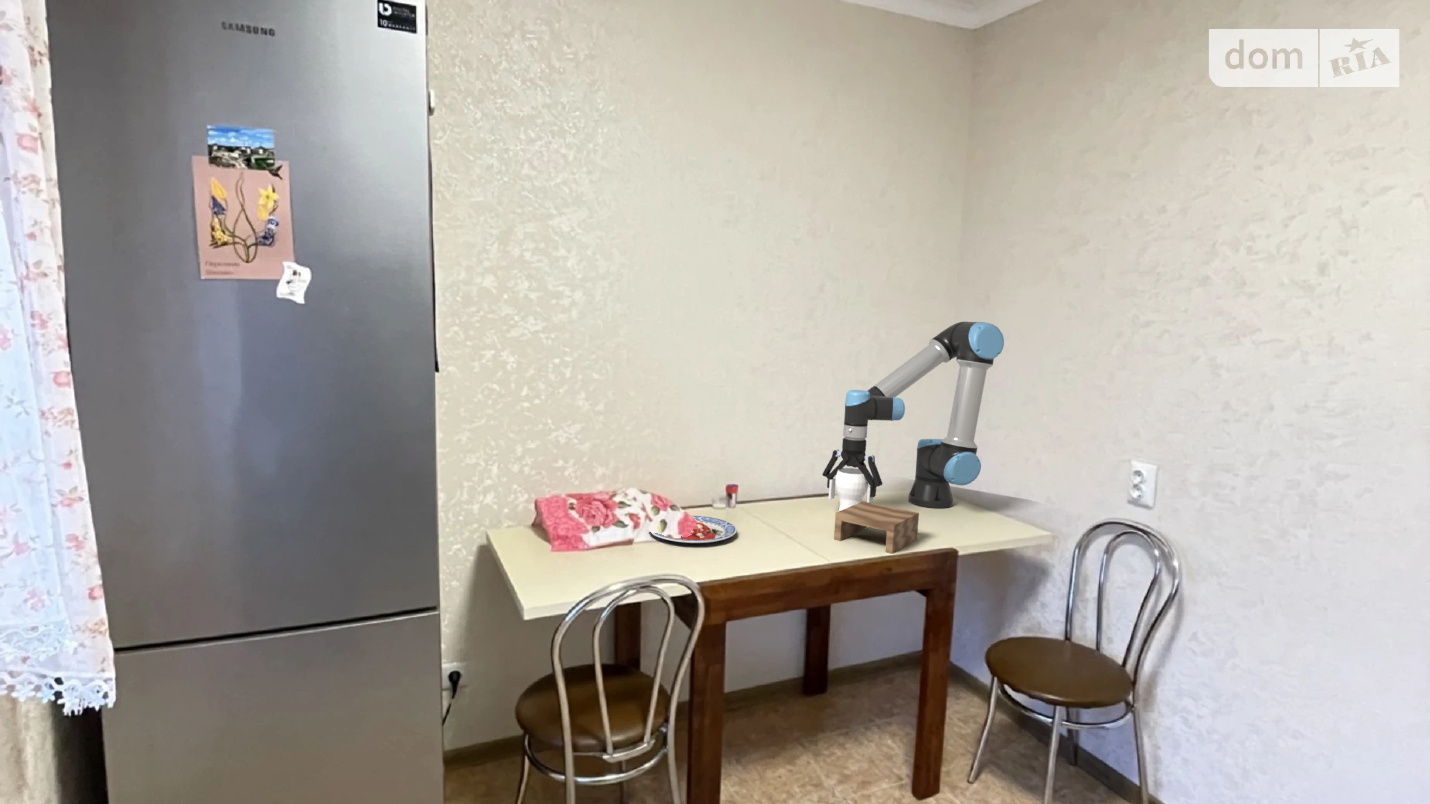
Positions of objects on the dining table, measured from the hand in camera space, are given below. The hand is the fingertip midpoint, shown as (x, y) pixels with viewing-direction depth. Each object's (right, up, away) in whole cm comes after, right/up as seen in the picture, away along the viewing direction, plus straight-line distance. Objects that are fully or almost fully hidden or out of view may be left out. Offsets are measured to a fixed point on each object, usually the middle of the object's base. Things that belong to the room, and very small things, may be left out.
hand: (850, 502), depth 236 cm
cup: (0, -5, +1) cm, 5 cm away
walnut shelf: (+3, -8, -23) cm, 24 cm away
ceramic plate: (-51, -6, -25) cm, 57 cm away
